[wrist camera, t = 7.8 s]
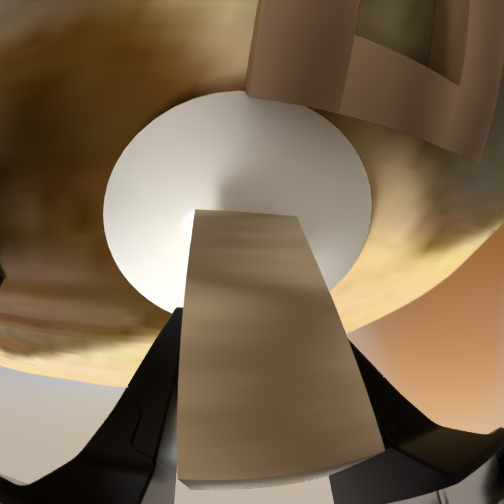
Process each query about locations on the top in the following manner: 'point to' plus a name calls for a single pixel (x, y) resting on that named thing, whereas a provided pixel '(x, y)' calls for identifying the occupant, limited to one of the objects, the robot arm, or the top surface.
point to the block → (264, 361)
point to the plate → (232, 186)
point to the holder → (384, 69)
